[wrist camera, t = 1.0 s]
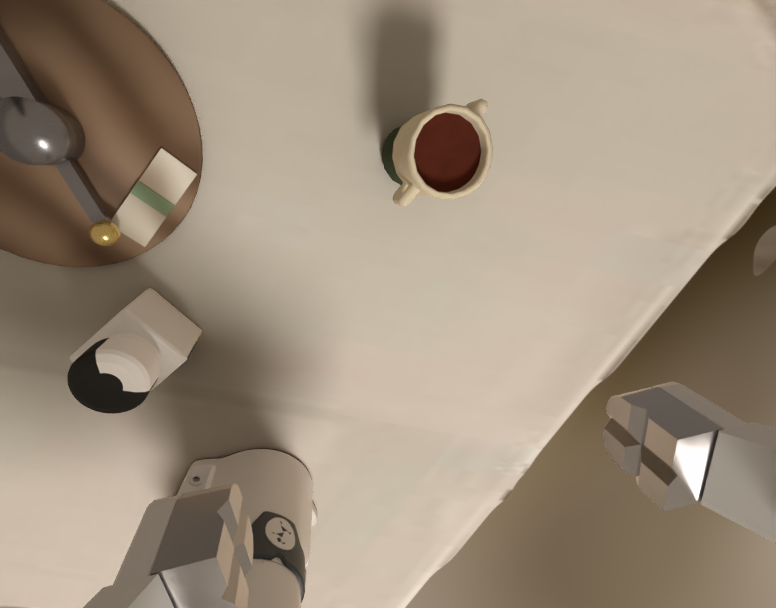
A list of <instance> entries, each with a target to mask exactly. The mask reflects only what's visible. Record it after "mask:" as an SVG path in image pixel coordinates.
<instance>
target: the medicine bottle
mask: <svg viewBox="0 0 776 608" xmlns="http://www.w3.org/2000/svg"><path fill="white" fill-rule="evenodd" d="M201 334H202V330H201V329H200V328H199V327H198V326H196V325H195V324H194V323H193V322H192V321H190V320H189V319H188V318H187V317H186V316H184V315H183V314H182V313H181V312H180V311H178V310H177V309H176V308H175V307H174V306H172V305H171V304H170V303H169V302H168V301H167V300H165V299H164V298H163V297H162V296H161V295H159V294H158V293H157V292H156V291H155V290H153V289H152V288H148V289H146V290H145V291H144V292H143V293H142V294H140V295H139V296H138V297H137V298H136V299H134V300H133V301H132V302H131V303H130V304H128V305H127V306H126V307H125V308H123V309H122V310H121V311H120V312H119V313H118V314H117V315H116V316H114V317H113V318H112V319H111V320H110V321H109V322H108V323H107V324H106V325H104V326H103V327H102V328H101V329H100V330H99V331H98V332H97V333H95V334H94V335H93V336H92V337H91V338H90V339H89V340H88V341H86V342H85V343H84V344H83V345H82V346H81V347H80V348H79V349H78V350H76V351H75V352H74V353H73V354H72V355H71V356H70V360H71V361H72V362H73V364H72V365H71V367H70V369H69V372H68V385H69V388H70V391H71V392H72V394H73V395H74V397H75V398H76V399H77V400H78V401H79V402H80V403H81V404H83V405H84V406H86V407H88V408H90V409H92V410H95V411H98V412H103V413H121V412H126V411H129V410H131V409H133V408H135V407H137V406H138V405H140V404H141V403H142V402H143V401H144V400H145V398H146V397H147V395H148V394H149V393H150V392H151V391H152V390H153V389H154V388H155V387H157V386H158V385H159V384H160V383H161V382H162V381H163V380H165V379H166V378H167V377H168V376H169V375H170V374H171V373H173V372H174V371H175V370H176V369H177V368H178V367H179V366H181V365H182V364H183V363H184V362H185V361H186V360H187V359H188V357H189V355H190V353H191V352H192V350H193V348H194V346H195V345H196V343H197V341H198V339H199V337H200V336H201Z"/></svg>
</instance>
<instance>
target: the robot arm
mask: <svg viewBox="0 0 776 608" xmlns="http://www.w3.org/2000/svg"><path fill="white" fill-rule="evenodd" d="M606 412H607V414H608V415H609V416H610V418H611V420H610V421H609V423H608V424H607V425H606V427H605V428H604V443H605V446H606V450H607V453H608V454H609V456H610V457H611V459H612V461H613V462H614V463H615V464H616V465H617V466H618V467H619V468H620V469H621V470H622V471H624V472H627V473H629V474H631V475H634V476H636V479H637V485H638V487H639V488H640V489H641V490H642V491H643V492H644V493H645V494H646V495H647V496H648V497H649V498H650V499H651V500H652V501H653V502H655V504H656V505H657V506H658V507H660V508H661V509H662V510H663V511H666V510H670V509H674V508H678V507H682V506H686V505H690V504H694V503H699V502H701V505H703V506H705V507H707V508H709V509H711V510H713V511H715V512H716V513H718V514H720V515H722V516H724V517H726V518H728V519H730V520H732V521H734V522H736V523H738V524H740V525H742V526H744V527H746V528H747V529H749V530H751V531H753V532H755V533H757V534H759V535H761V536H763V537H765V538H767V539H769V540H771V541H772V542H774V543H776V428H773V427H769V426H765V425H762V424H758V423H755V422H752V423H748V424H747V423H745V422H743V421H742V420H740V419H738V418H737V417H735V416H733V415H732V414H730V413H728V412H727V411H725V410H723V409H722V408H720V407H719V406H717V405H715V404H713V403H712V402H710V401H709V400H707V399H705V398H703V397H702V396H700V395H698V394H697V393H695V392H694V391H692V390H690V389H689V388H687V387H685V386H684V385H682V384H679V383H675V382H669V383H665V384H661V385H657V386H653V387H651V388H646V389H642V390H637V391H633V392H629V393H625V394H621V395H616V396H612V397H611V398H610V400H609V401H608V403H607V410H606ZM195 477H199V478H195ZM312 493H313V484H312V479H311V477H310V474H309V472H308V471H307V469H306V468H305V467H304V465H303V464H302V463H300V462H299V461H298V460H297V459H295V458H294V457H292V456H290V455H288V454H285V453H283V452H279V451H275V450H269V449H253V450H246V451H242V452H238V453H235V454H232V455H230V456H227V457H224V458H220V459H202V460H198V461H195V462H194V463H193V464H192V465H191V466H190V468H189V470H188V472H187V474H186V476H185V478H184V480H183V482H182V484H181V486H180V489H179V491H178V493H177V495H176V496H172V497H167V498H162V499H157V500H154V501H153V502H152V503H151V504H150V505H149V506H148V507H147V509H146V511H145V513H144V515H143V518H142V520H141V522H140V525H139V527H138V529H137V531H136V534H135V536H134V538H133V540H132V543H131V545H130V547H129V549H128V552H127V554H126V556H125V559H124V561H123V563H122V565H121V568H120V570H119V572H118V574H117V577H116V579H115V581H114V583H113V585H111V586H108V587H104V588H102V589H101V590H100V591H99V592H98V593H97V594H96V595H95V596H94V597H93V598H92V599H91V600H90V601H89V602H88V603H87V604H86V605H85V606H84V607H83V608H301V603H302V600H303V598H304V593H305V583H306V570H305V567H306V566H307V565H308V562H309V556H310V542H311V528H312V527H313V526H314V525H315V524H316V522H317V510H316V508H315V506H314V504H313V502H312Z"/></svg>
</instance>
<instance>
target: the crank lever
mask: <svg viewBox="0 0 776 608" xmlns="http://www.w3.org/2000/svg"><path fill="white" fill-rule="evenodd" d="M0 97H1V98H2V99H0V151H1V152H2V153H3V154H5V155H6V156H8V157H9V158H11V159H13V160H15V161H17V162H20V163H23V164H27V165H55V166H56V167H57V169H58V171H59V172H60V174H61V175H62V177H63V178H64V180H65V181H66V183H67V184H68V186H69V188H70V189H71V191H72V192H73V194H74V195H75V197H76V198H77V200H78V202H79V203H80V205H81V206H82V208H83V209H84V211H85V212H86V214H87V216H88V217H89V219H90V220H91V222H92V223H93V224H92V225H91V226H90V228H89V236H90V238H91V239H92V241H93V242H95V243H96V244H98V245H101V246H112V245H114V244H116V243H117V242H118V241H119V239H120V235H121V234H120V230H119V228H118V227H117V225H115V224H114V223H113V222H112V221H111V219H110V217H109V216H108V214H107V213H106V211H105V209H104V208H103V206H102V205H101V203H100V201H99V200H98V198H97V197H96V195H95V193H94V192H93V190H92V189H91V187H90V185H89V184H88V182H87V181H86V179H85V177H84V176H83V174H82V173H81V171H80V169H79V168H78V166H77V165H76V163H75V161H76V160H77V159H78V158H80V156H81V155H82V153H83V152H84V149H85V135H84V131H83V129H82V127H81V125H80V123H79V122H78V121H77V119H76V118H75V117H74V116H73V115H72V114H70V113H69V112H68V111H66V110H65V109H63V108H61V107H59V106H56V105H52V104H48V102H47V100H46V99H45V97H44V96H43V94H42V92H41V91H40V89H39V87H38V86H37V84H36V83H35V81H34V79H33V78H32V76H31V74H30V73H29V71H28V70H27V68H26V66H25V65H24V63H23V61H22V60H21V58H20V57H19V55H18V53H17V52H16V50H15V48H14V47H13V45H12V44H11V42H10V40H9V39H8V37H7V35H6V34H5V32H4V31H3V29H2V27H1V26H0Z"/></svg>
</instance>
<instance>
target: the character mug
mask: <svg viewBox="0 0 776 608" xmlns="http://www.w3.org/2000/svg"><path fill="white" fill-rule="evenodd" d="M487 107H488V105H487V101H485V100H483V99H479V100H476V101H474V102H471V103H469V104H467V105H466V106H461V105H455V104H447V105H443V106H440V107H436V108H433V109H430V110H428V111H425V112H423V113H420V114H418V115H415V116H414V117H412V118H411V119H410V120H409V121H408V122H406V123H405V124H404V125H403V126H401V127H399V128H397V129H394V130H393V131H392V133H391V134H390V135H389V136H388V138H387V139H386V140H385V143H384V147H383V152H382V158H383V163H384V169H385V170H386V172H387V173H388V174H389V176H390V177H391V179H392V180H393V181H395V182H397V183H399V184H400V185H401V186H400V187H399V189H398V190H397V191H396V192H395V194H394V196H393V201H394V203H395V204H398V205H400V206H403V207H404V206H407V205H408V204H409V203H410V202H411V201H412V200H413V199H414V198H415V196H416V195H417V194H418V193H419V194H421V195H424V196H428V197H432V198H436V199H442V198H443V199H454V198H458V197H462V196H466V195H468V194H469V193H471V192H472V191H474V190H475V189H476V188H478V187H479V186H480V185H481V184H482V182H483V181H484V179H485V178H486V176H487V173H488V171H489V169H490V167H491V161H492V154H493V146H492V140H491V134H490V131H489V129H488V128H487V126H486V124H485V122H484V120H483V118H482V117H481V116H482V115H483V113H484V112H485V110H486V109H487Z"/></svg>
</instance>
